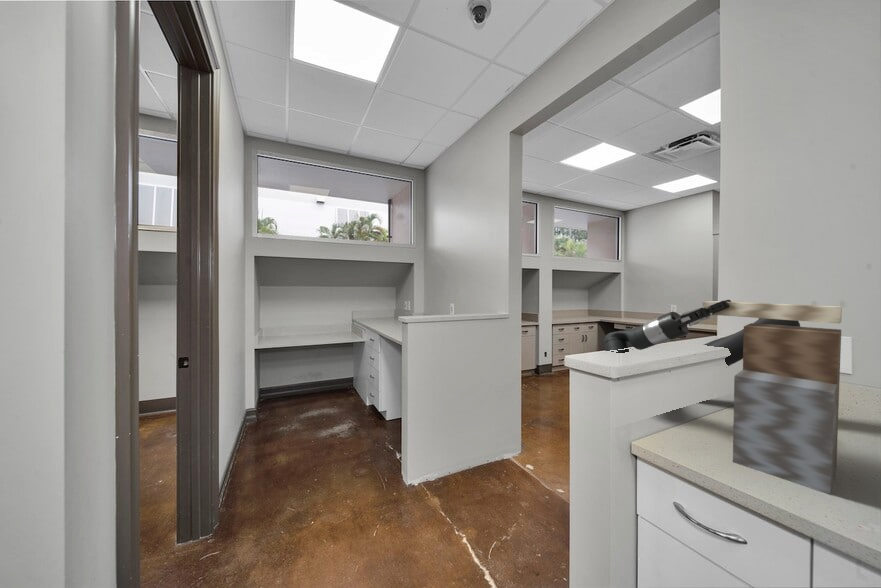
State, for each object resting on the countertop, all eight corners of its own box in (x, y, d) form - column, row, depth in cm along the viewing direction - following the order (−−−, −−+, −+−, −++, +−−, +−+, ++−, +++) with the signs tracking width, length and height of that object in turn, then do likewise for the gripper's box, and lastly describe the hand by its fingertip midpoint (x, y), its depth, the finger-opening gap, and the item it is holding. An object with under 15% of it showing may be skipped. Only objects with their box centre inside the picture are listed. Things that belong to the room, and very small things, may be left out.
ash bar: (702, 314, 89) (702, 301, 89) (706, 313, 91) (706, 300, 91) (840, 323, 70) (840, 307, 70) (841, 322, 72) (842, 306, 72)
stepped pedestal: (732, 461, 77) (735, 329, 76) (748, 440, 87) (751, 323, 85) (830, 494, 65) (835, 338, 64) (836, 466, 75) (841, 329, 73)
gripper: (680, 337, 101) (745, 313, 88) (662, 343, 93) (731, 318, 80) (666, 315, 104) (728, 289, 91) (648, 319, 95) (712, 291, 83)
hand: (729, 303), depth 86 cm, fingers closed on ash bar, 3 cm apart
